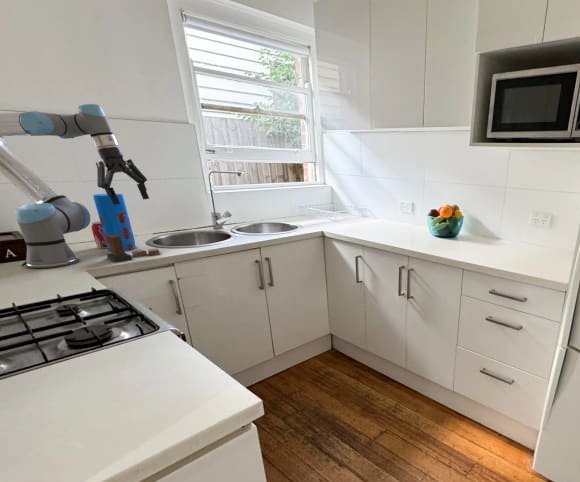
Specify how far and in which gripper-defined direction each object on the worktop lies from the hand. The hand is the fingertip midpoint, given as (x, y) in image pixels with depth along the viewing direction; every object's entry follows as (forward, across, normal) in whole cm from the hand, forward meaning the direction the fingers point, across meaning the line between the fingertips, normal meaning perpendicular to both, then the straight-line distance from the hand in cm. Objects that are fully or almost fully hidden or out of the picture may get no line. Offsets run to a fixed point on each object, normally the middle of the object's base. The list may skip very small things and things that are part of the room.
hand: (132, 201), depth 160 cm
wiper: (+22, -8, +11) cm, 26 cm away
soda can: (+18, +6, +36) cm, 41 cm away
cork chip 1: (+22, -1, +9) cm, 24 cm away
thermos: (+20, +6, +26) cm, 33 cm away
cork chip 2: (+23, +3, +5) cm, 24 cm away
